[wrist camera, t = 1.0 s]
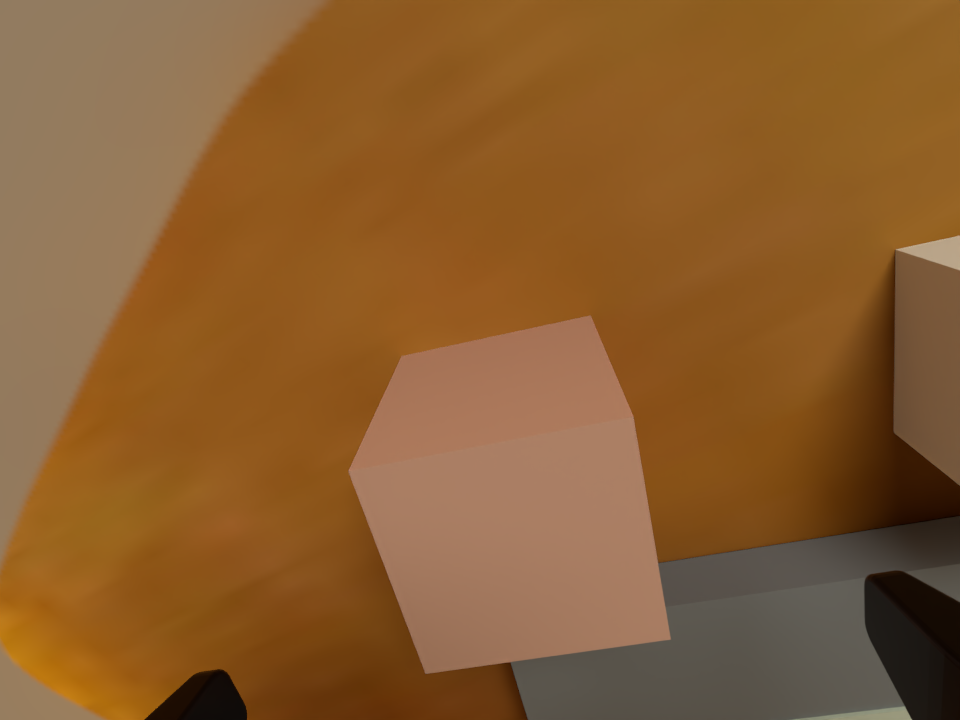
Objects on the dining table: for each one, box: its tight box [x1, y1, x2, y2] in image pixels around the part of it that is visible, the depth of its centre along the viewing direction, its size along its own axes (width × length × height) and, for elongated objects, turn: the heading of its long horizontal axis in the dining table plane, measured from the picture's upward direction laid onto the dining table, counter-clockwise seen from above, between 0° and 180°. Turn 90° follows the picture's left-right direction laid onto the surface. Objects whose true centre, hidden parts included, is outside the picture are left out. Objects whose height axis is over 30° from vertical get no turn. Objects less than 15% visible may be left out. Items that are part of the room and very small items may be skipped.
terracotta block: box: [348, 316, 671, 674], centre depth 12 cm, size 4×4×5 cm
